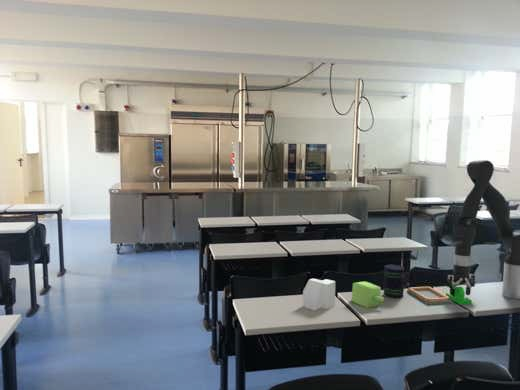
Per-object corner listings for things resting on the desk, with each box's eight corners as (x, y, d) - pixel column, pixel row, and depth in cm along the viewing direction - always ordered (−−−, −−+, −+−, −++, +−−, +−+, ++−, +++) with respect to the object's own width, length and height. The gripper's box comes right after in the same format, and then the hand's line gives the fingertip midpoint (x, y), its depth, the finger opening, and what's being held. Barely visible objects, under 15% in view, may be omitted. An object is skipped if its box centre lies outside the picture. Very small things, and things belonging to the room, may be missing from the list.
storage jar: (382, 297, 213) (383, 268, 211) (383, 291, 222) (384, 263, 221) (403, 299, 210) (404, 270, 208) (403, 293, 219) (404, 265, 217)
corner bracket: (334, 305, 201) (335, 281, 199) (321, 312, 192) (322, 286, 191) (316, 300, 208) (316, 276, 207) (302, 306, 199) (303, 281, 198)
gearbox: (389, 308, 199) (391, 289, 198) (374, 311, 193) (376, 291, 193) (361, 296, 214) (363, 278, 213) (347, 299, 209) (348, 280, 208)
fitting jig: (427, 290, 224) (427, 285, 224) (451, 303, 204) (451, 298, 204) (407, 291, 222) (407, 287, 221) (429, 305, 202) (429, 300, 202)
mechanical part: (471, 304, 204) (472, 288, 203) (460, 304, 203) (461, 288, 202) (456, 296, 216) (457, 280, 215) (445, 296, 215) (446, 281, 214)
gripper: (469, 261, 213) (467, 292, 215) (444, 262, 210) (442, 293, 212) (479, 265, 206) (477, 297, 207) (453, 266, 203) (451, 298, 205)
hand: (459, 295), depth 210 cm, fingers open, 8 cm apart
